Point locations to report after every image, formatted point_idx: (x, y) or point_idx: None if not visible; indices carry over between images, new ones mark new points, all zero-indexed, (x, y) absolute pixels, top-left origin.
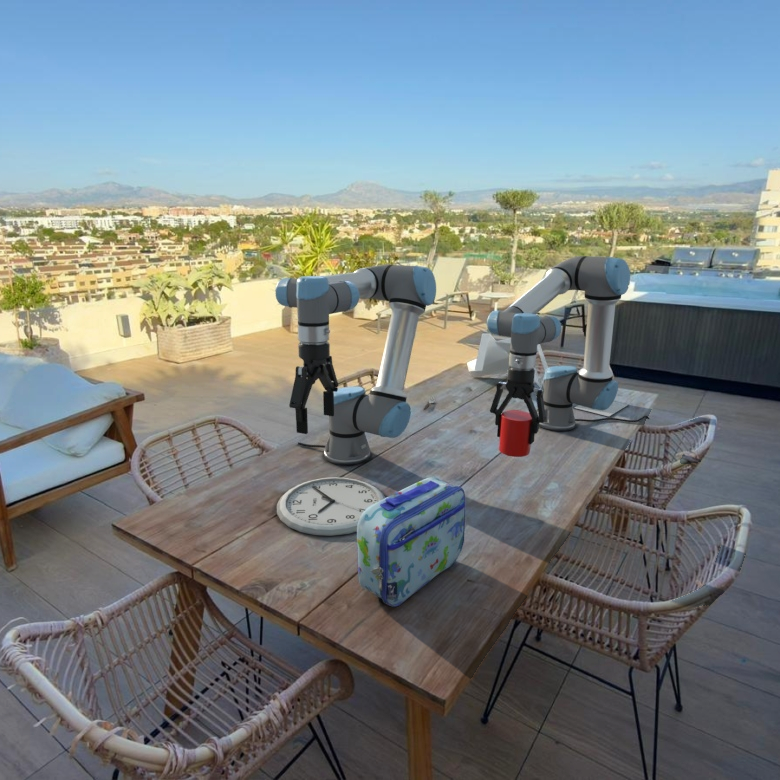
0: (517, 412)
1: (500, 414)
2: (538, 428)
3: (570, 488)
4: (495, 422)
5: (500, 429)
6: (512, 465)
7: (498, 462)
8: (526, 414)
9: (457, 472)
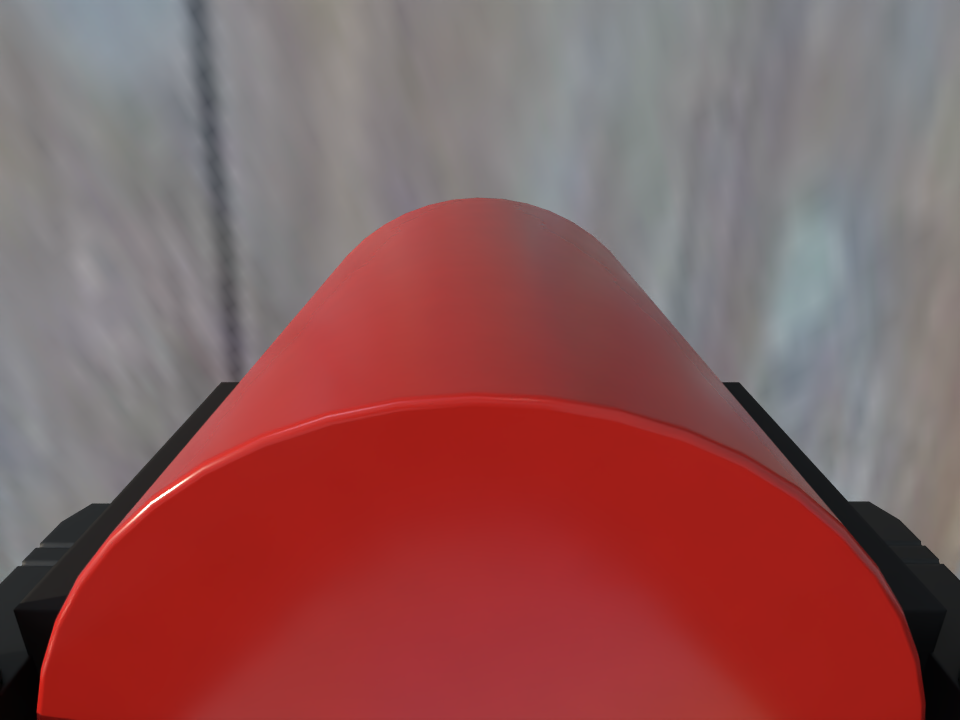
0: (388, 604)
1: (28, 715)
2: (931, 557)
3: (942, 245)
4: None
5: None
6: (412, 94)
7: (281, 108)
8: (698, 619)
9: (132, 466)
